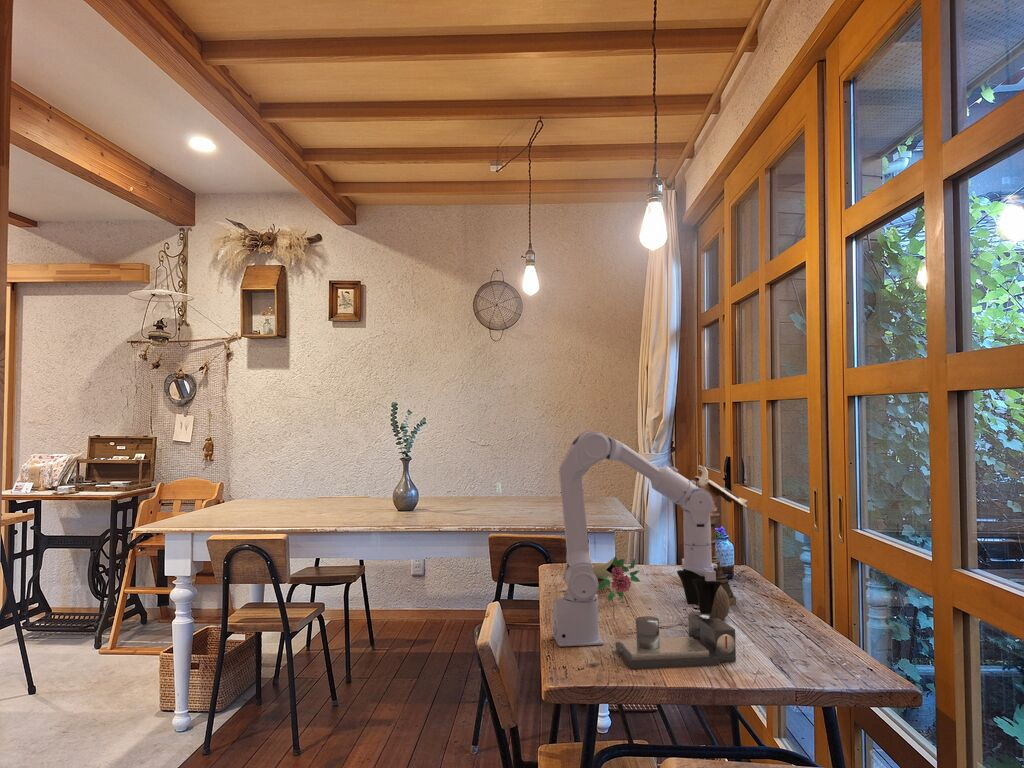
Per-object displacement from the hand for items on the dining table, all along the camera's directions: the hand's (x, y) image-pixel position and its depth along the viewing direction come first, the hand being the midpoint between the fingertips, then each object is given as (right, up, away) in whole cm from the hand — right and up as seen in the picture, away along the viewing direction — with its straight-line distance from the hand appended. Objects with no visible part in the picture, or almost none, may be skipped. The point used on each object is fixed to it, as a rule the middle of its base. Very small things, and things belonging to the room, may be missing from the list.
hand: (699, 608), depth 153 cm
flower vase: (-13, -9, +41) cm, 44 cm away
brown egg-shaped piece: (+7, -7, +15) cm, 18 cm away
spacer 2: (0, -6, 0) cm, 6 cm away
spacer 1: (-13, -3, -13) cm, 19 cm away
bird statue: (+14, -8, +31) cm, 35 cm away
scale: (-8, -6, -12) cm, 16 cm away
